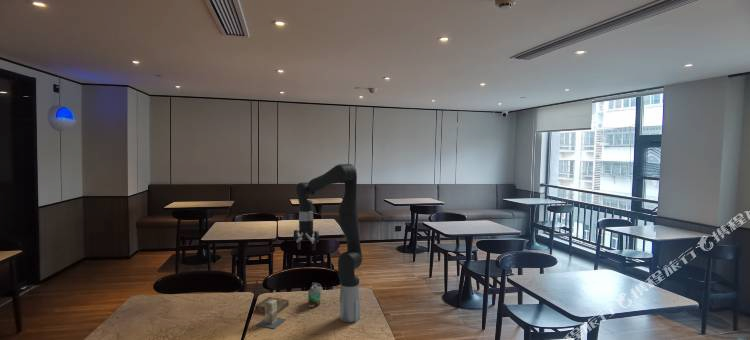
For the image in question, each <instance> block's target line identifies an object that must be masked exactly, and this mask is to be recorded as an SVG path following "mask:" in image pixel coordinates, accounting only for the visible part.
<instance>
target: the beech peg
mask: <svg viewBox="0 0 750 340" xmlns="http://www.w3.org/2000/svg"><path fill="white" fill-rule="evenodd" d="M277 318H278V313H277V300H273V299H269V300H267V301H266V302H265V313H264V319H265V323H268V324H273V323H275V322H276V321H277Z"/></svg>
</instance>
